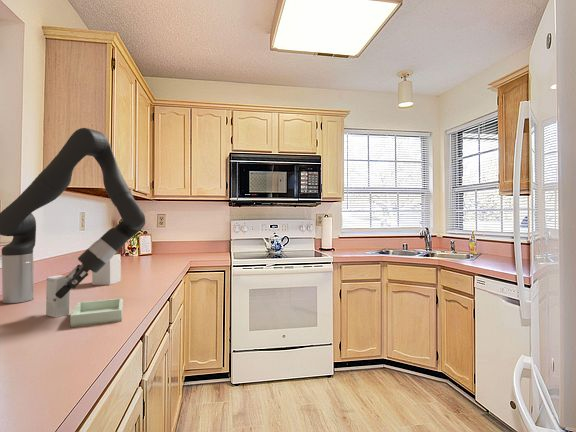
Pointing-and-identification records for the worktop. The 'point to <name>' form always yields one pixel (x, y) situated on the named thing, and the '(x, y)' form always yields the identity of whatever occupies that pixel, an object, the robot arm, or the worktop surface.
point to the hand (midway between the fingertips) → (57, 294)
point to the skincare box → (53, 303)
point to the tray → (97, 312)
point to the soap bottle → (108, 272)
